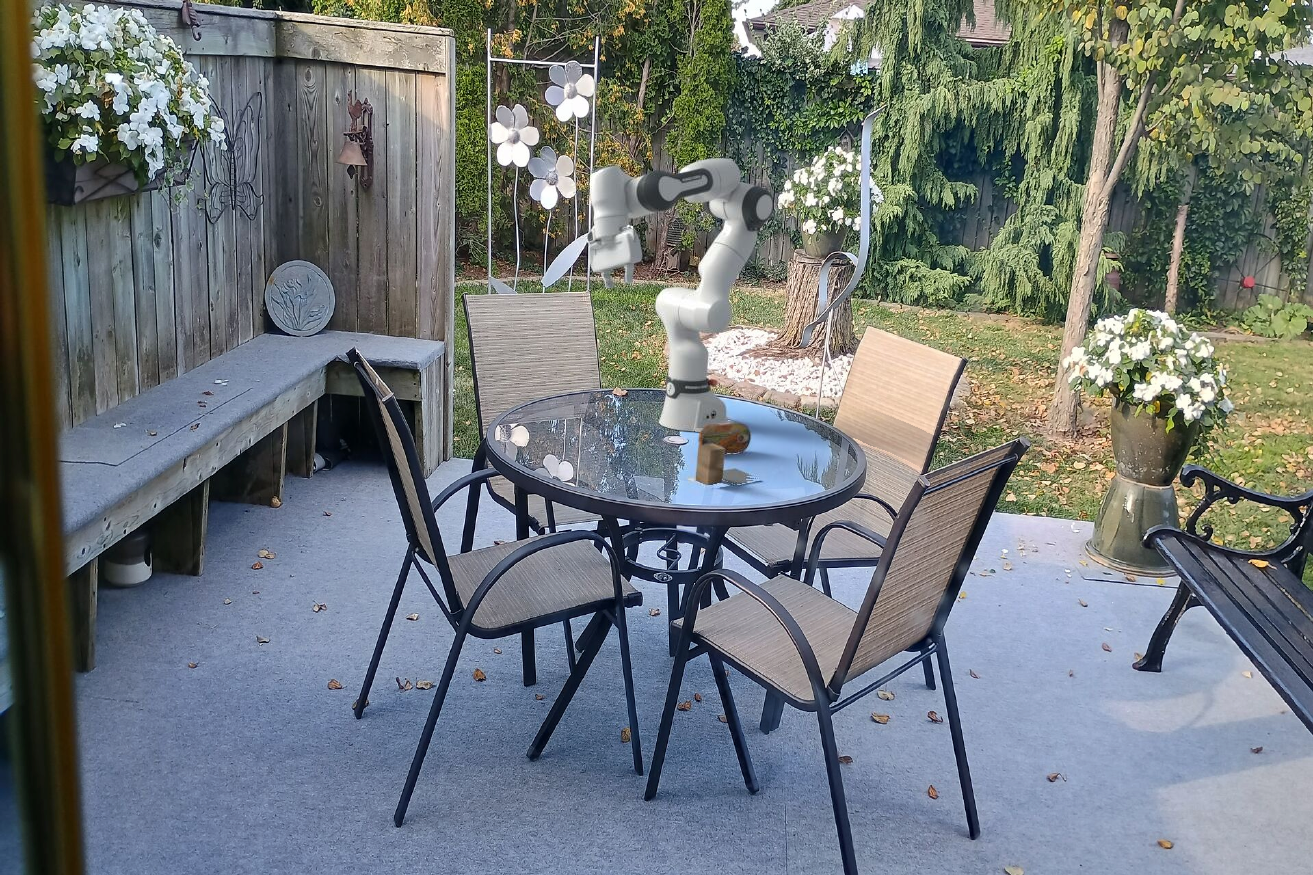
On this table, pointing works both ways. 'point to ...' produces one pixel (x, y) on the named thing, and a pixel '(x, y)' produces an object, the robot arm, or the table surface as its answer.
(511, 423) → the table surface
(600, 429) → the table surface
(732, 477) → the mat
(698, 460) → the walnut block
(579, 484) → the table surface
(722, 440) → the tin
